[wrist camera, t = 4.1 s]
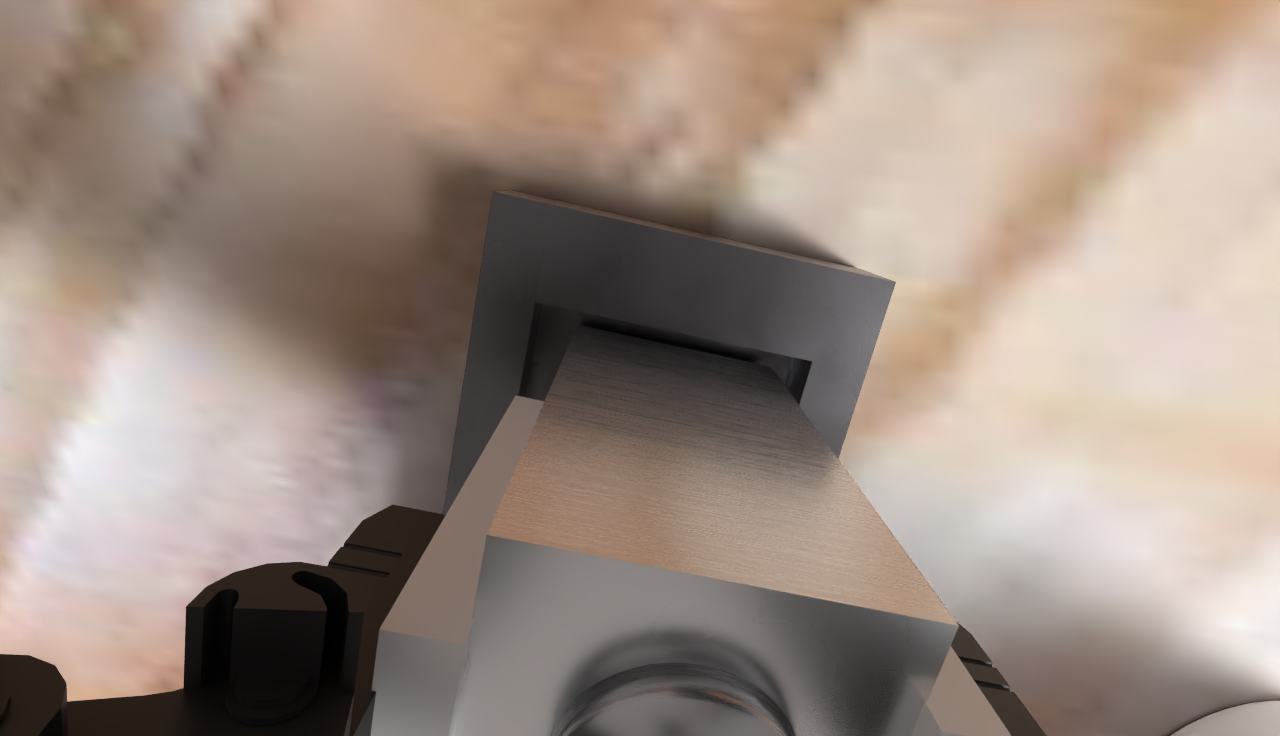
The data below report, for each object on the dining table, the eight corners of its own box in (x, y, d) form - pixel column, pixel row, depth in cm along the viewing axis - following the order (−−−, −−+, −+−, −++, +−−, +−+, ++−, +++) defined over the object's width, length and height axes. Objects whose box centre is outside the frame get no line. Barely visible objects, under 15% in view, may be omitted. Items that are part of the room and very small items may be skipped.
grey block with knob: (577, 324, 14) (473, 566, 5) (770, 366, 15) (985, 664, 6) (542, 501, 16) (408, 945, 7) (722, 536, 16) (834, 1010, 7)
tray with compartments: (511, 190, 15) (488, 190, 13) (857, 268, 16) (897, 282, 13) (389, 943, 22) (358, 1037, 19) (637, 979, 22) (638, 1075, 20)
